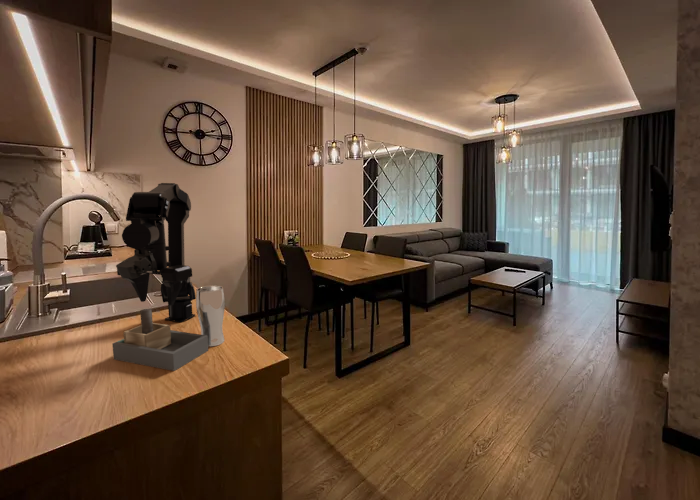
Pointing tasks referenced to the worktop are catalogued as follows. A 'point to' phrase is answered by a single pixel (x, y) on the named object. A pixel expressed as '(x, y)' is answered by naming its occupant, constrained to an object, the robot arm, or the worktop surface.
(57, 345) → the worktop surface
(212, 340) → the beer glass
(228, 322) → the worktop surface
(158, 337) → the crate
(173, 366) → the bay
